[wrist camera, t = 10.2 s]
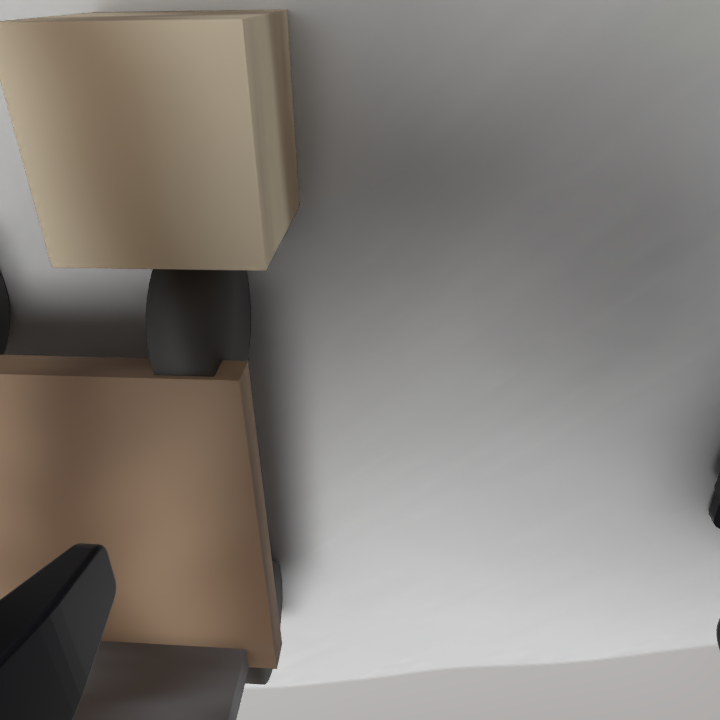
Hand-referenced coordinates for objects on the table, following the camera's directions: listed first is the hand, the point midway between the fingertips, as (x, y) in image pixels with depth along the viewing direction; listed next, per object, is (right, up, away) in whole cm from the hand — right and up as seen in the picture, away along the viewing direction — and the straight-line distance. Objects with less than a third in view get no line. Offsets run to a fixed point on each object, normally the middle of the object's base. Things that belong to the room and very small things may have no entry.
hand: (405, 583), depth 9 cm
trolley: (-9, 0, +14) cm, 17 cm away
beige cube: (-5, +10, +8) cm, 14 cm away
